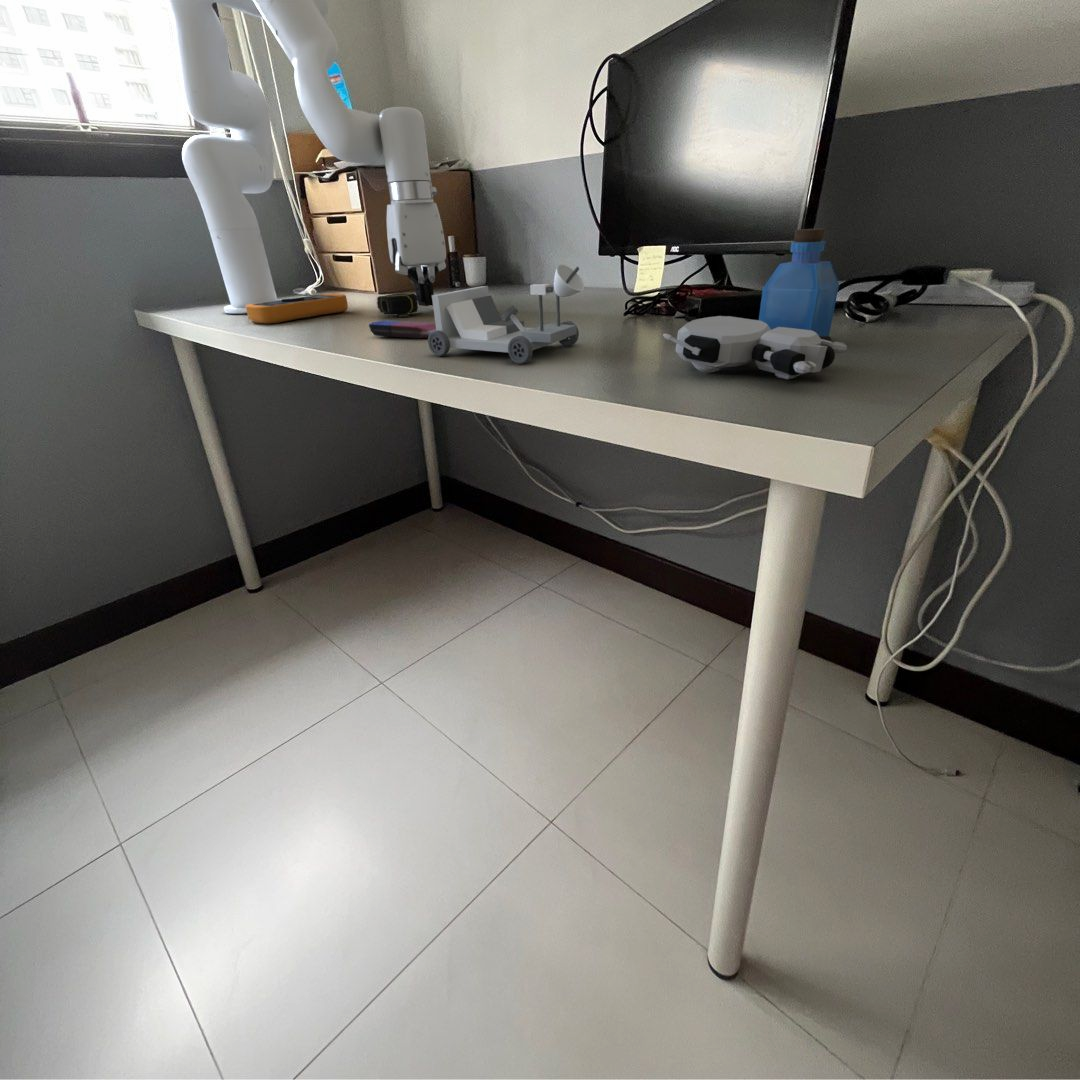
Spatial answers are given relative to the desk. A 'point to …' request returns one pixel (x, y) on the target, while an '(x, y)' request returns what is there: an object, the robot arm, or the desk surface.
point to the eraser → (402, 329)
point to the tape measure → (398, 304)
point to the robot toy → (753, 346)
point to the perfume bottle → (802, 288)
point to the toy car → (500, 320)
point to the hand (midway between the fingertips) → (426, 305)
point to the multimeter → (296, 308)
